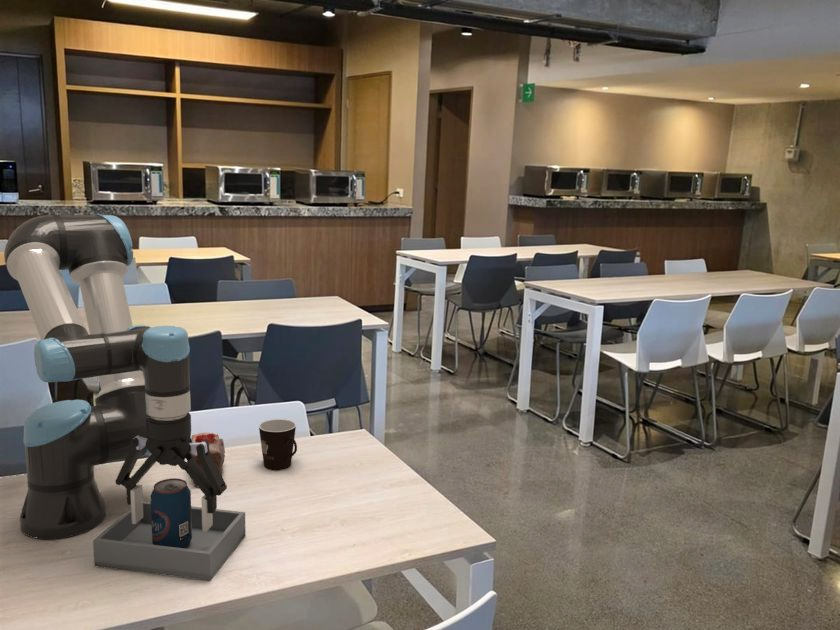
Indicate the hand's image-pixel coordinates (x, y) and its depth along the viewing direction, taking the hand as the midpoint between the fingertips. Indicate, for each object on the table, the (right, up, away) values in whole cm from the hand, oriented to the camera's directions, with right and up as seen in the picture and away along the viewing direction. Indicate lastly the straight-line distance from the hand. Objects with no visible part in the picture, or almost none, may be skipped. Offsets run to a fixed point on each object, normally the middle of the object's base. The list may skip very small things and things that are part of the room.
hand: (172, 524), depth 132 cm
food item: (-3, +1, +34) cm, 34 cm away
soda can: (0, -4, +1) cm, 4 cm away
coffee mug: (+12, +2, +39) cm, 41 cm away
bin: (0, -5, +1) cm, 5 cm away
